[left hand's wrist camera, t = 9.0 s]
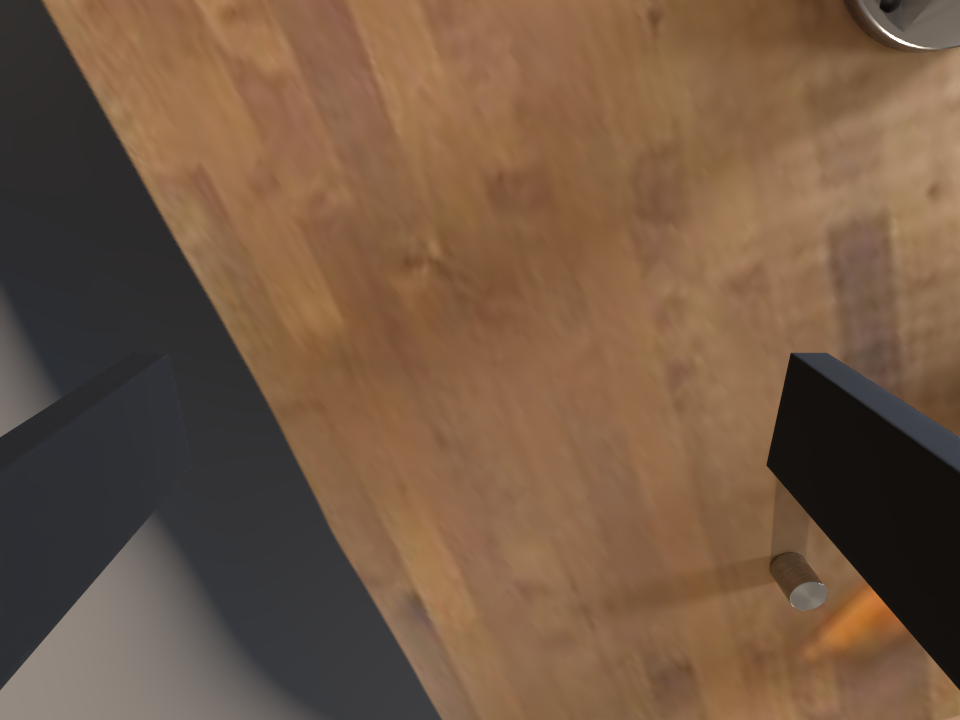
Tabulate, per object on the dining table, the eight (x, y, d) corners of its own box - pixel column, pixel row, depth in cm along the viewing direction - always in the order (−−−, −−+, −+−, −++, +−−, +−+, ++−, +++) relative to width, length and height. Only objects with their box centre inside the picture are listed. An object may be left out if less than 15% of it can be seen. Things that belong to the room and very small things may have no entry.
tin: (774, 551, 59) (795, 581, 55) (809, 552, 59) (832, 582, 55) (765, 579, 60) (785, 610, 56) (799, 580, 60) (822, 611, 56)
